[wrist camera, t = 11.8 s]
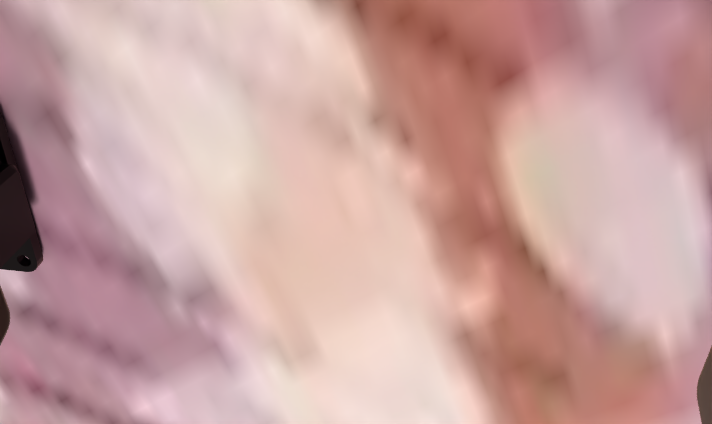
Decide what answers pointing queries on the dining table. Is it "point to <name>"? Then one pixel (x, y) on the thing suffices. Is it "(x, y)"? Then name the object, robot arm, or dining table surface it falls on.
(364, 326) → the dining table surface
